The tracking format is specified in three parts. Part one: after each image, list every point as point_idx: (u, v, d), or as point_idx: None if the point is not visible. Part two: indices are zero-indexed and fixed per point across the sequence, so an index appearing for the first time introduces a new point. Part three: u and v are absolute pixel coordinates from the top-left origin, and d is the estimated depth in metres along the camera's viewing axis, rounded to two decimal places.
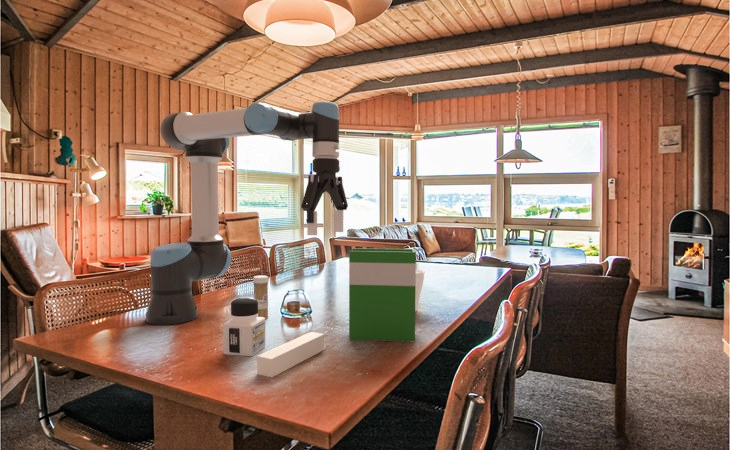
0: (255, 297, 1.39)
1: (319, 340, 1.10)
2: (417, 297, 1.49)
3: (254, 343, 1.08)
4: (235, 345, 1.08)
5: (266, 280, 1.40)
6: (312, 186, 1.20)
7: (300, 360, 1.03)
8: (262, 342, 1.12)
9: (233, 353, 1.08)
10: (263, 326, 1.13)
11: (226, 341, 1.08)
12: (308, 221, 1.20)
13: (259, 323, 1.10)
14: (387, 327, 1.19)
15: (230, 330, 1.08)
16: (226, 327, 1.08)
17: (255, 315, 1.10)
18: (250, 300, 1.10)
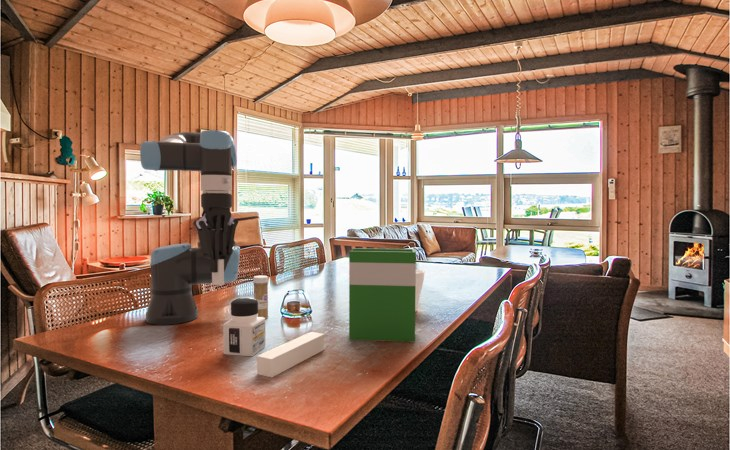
0: (255, 297, 1.39)
1: (319, 340, 1.10)
2: (417, 297, 1.49)
3: (254, 343, 1.08)
4: (235, 345, 1.08)
5: (266, 280, 1.40)
6: (203, 234, 1.09)
7: (300, 360, 1.03)
8: (262, 342, 1.12)
9: (233, 353, 1.08)
10: (263, 326, 1.13)
11: (226, 341, 1.08)
12: (211, 270, 1.13)
13: (259, 323, 1.10)
14: (387, 327, 1.19)
15: (230, 330, 1.08)
16: (226, 327, 1.08)
17: (255, 315, 1.10)
18: (250, 300, 1.10)
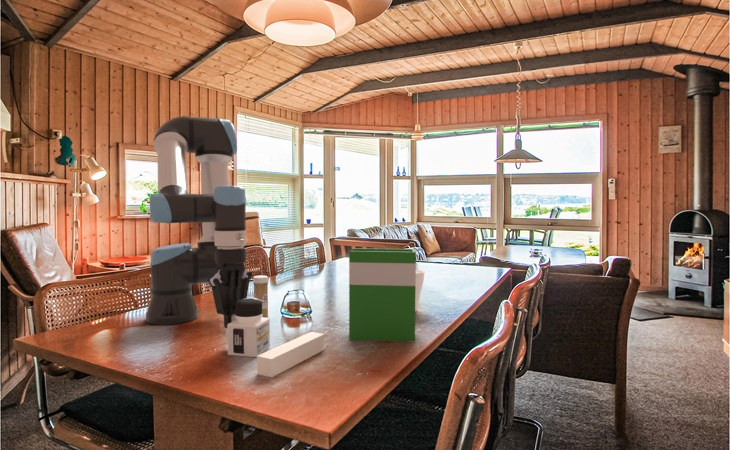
0: (255, 297, 1.39)
1: (319, 340, 1.10)
2: (417, 297, 1.49)
3: (259, 344, 1.07)
4: (239, 346, 1.07)
5: (266, 280, 1.40)
6: (217, 292, 1.08)
7: (300, 360, 1.03)
8: (266, 343, 1.12)
9: (237, 354, 1.07)
10: (267, 327, 1.12)
11: (230, 342, 1.08)
12: (225, 326, 1.11)
13: (263, 324, 1.10)
14: (387, 327, 1.19)
15: (235, 331, 1.07)
16: (230, 327, 1.07)
17: (259, 316, 1.09)
18: (254, 300, 1.09)
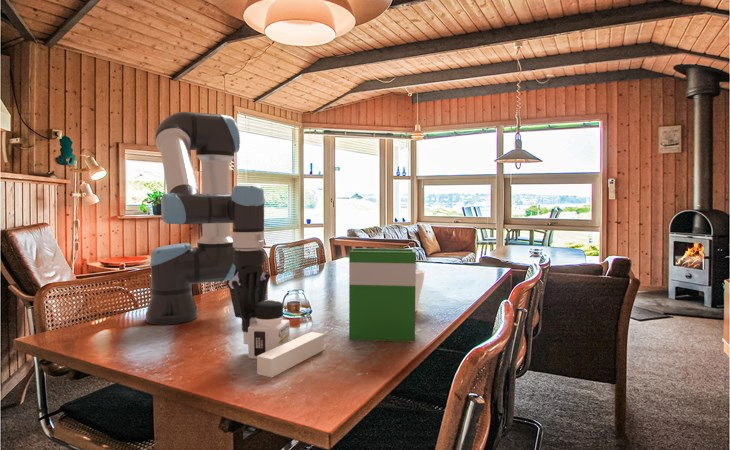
0: None
1: (319, 340, 1.10)
2: (417, 297, 1.49)
3: None
4: (260, 349, 1.05)
5: None
6: (236, 295, 1.05)
7: (300, 360, 1.03)
8: None
9: None
10: (288, 329, 1.10)
11: (251, 345, 1.05)
12: (243, 330, 1.09)
13: (284, 326, 1.08)
14: (387, 327, 1.19)
15: (256, 333, 1.05)
16: (251, 330, 1.05)
17: (280, 318, 1.07)
18: (275, 302, 1.07)
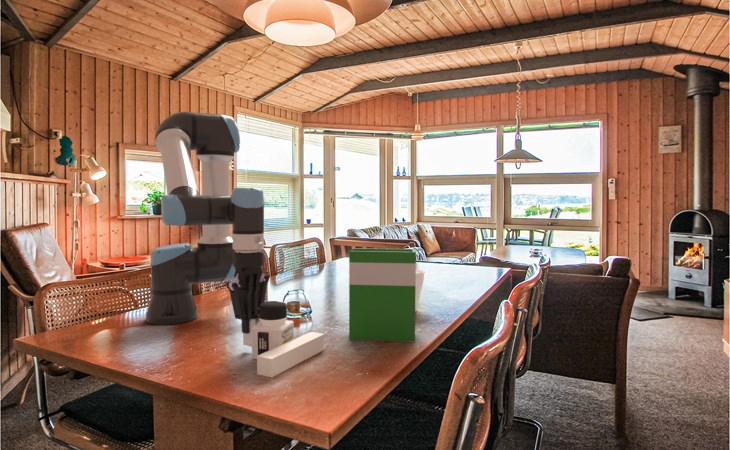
0: None
1: (319, 340, 1.10)
2: (417, 297, 1.49)
3: None
4: (264, 350, 1.05)
5: None
6: (236, 296, 1.05)
7: (300, 360, 1.03)
8: None
9: None
10: (292, 330, 1.10)
11: (255, 345, 1.05)
12: (243, 331, 1.09)
13: (288, 327, 1.07)
14: (387, 327, 1.19)
15: (259, 334, 1.05)
16: (254, 331, 1.05)
17: (284, 319, 1.06)
18: (279, 303, 1.07)
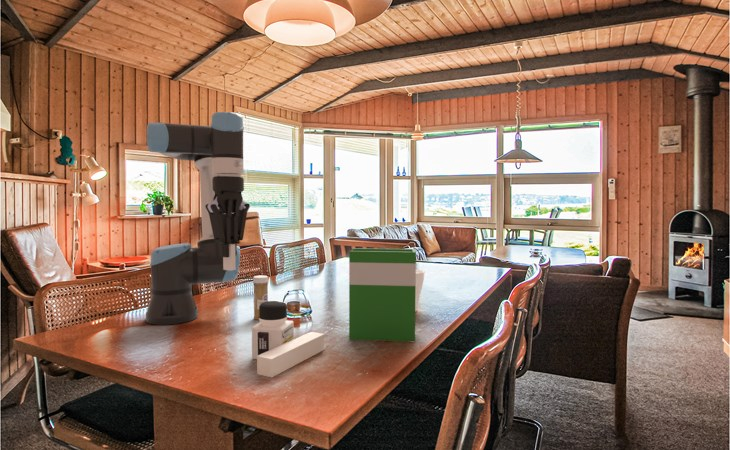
0: (255, 297, 1.39)
1: (319, 340, 1.10)
2: (417, 297, 1.49)
3: None
4: (264, 350, 1.05)
5: (266, 280, 1.40)
6: (215, 218, 1.07)
7: (300, 360, 1.03)
8: None
9: None
10: (292, 330, 1.10)
11: (255, 345, 1.05)
12: (223, 255, 1.11)
13: (288, 327, 1.07)
14: (387, 327, 1.19)
15: (259, 334, 1.05)
16: (254, 331, 1.05)
17: (284, 319, 1.06)
18: (279, 303, 1.07)
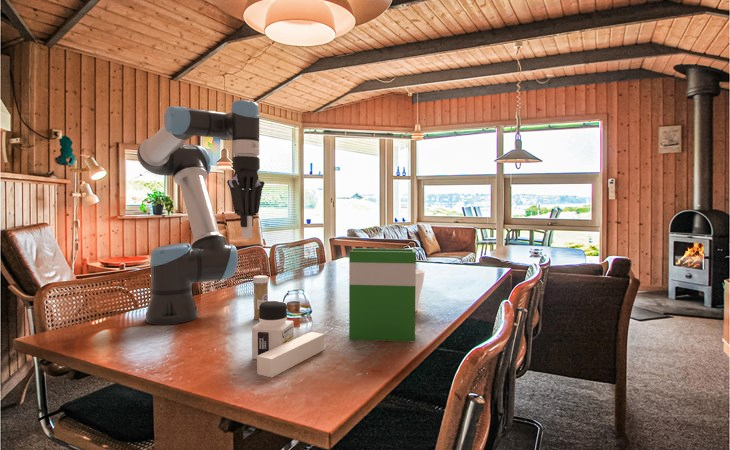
0: (255, 297, 1.39)
1: (319, 340, 1.10)
2: (417, 297, 1.49)
3: None
4: (264, 350, 1.05)
5: (266, 280, 1.40)
6: (235, 192, 1.24)
7: (300, 360, 1.03)
8: None
9: None
10: (292, 330, 1.10)
11: (255, 345, 1.05)
12: (241, 225, 1.27)
13: (288, 327, 1.07)
14: (387, 327, 1.19)
15: (259, 334, 1.05)
16: (254, 331, 1.05)
17: (284, 319, 1.06)
18: (279, 303, 1.07)
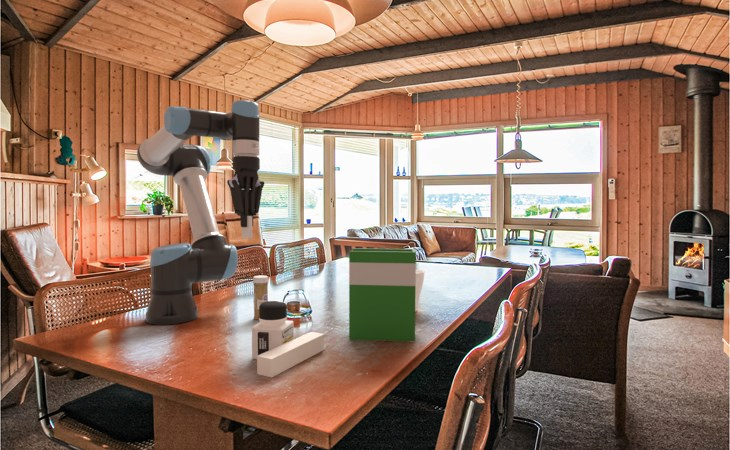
0: (255, 297, 1.39)
1: (319, 340, 1.10)
2: (417, 297, 1.49)
3: None
4: (264, 350, 1.05)
5: (266, 280, 1.40)
6: (235, 192, 1.24)
7: (300, 360, 1.03)
8: None
9: None
10: (292, 330, 1.10)
11: (255, 345, 1.05)
12: (242, 225, 1.27)
13: (288, 327, 1.07)
14: (387, 327, 1.19)
15: (259, 334, 1.05)
16: (254, 331, 1.05)
17: (284, 319, 1.06)
18: (279, 303, 1.07)
